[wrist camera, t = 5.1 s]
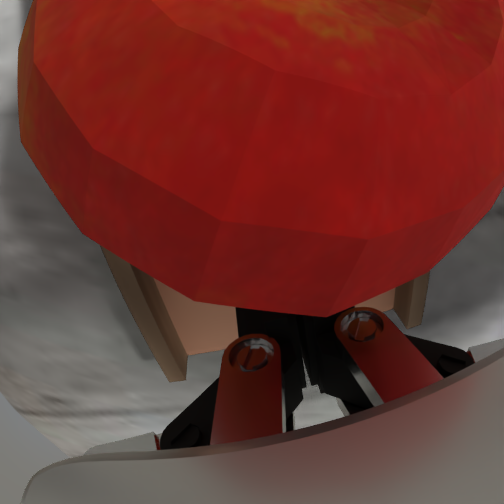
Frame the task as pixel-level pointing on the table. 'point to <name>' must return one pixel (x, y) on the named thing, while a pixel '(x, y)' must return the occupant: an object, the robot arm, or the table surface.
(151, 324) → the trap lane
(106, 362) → the table surface
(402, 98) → the apple
